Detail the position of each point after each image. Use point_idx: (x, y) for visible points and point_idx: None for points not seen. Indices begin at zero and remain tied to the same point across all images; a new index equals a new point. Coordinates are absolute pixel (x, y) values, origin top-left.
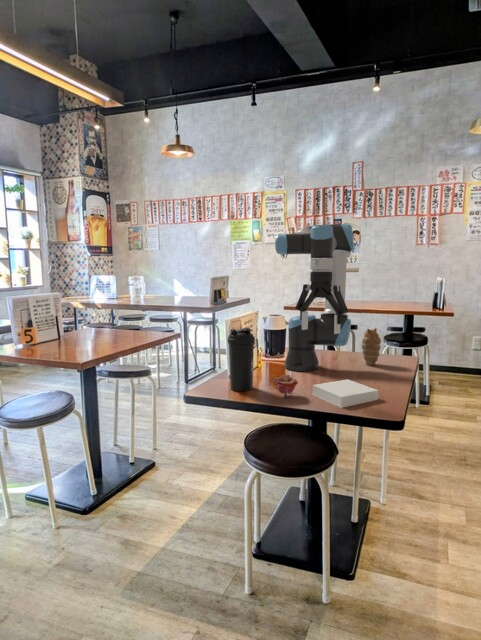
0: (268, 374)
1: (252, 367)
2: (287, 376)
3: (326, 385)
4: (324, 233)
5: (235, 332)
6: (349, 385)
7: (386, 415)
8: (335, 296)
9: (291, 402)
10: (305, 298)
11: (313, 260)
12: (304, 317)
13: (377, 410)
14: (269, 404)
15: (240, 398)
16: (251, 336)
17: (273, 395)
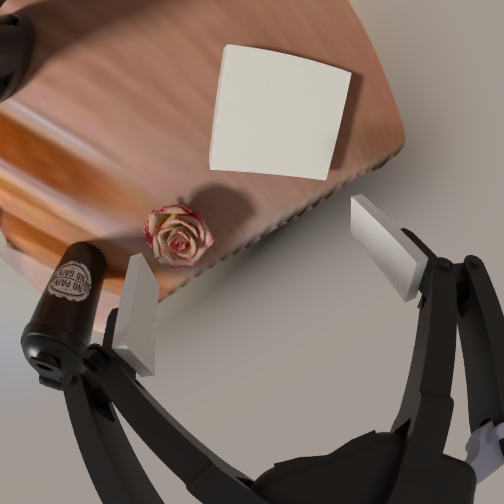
0: (7, 163)
1: (85, 282)
2: (172, 235)
3: (236, 140)
4: None
5: None
6: (277, 89)
7: (386, 135)
8: (470, 398)
9: (220, 226)
10: (113, 456)
11: None
12: (150, 335)
13: (365, 123)
14: (206, 265)
15: None
16: (69, 354)
17: None
